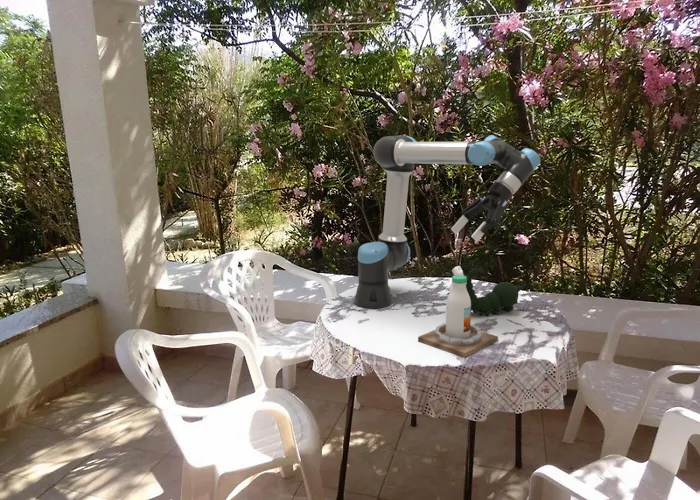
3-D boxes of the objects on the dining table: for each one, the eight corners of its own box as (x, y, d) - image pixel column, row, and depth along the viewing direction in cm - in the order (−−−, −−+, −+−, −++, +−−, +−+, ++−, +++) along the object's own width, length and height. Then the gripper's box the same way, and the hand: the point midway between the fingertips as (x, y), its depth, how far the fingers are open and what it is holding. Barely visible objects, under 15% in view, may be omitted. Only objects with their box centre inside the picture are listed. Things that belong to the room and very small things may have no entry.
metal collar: (426, 336, 168) (426, 330, 168) (453, 325, 178) (453, 319, 178) (463, 349, 158) (463, 343, 158) (489, 336, 168) (490, 330, 167)
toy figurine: (470, 324, 187) (531, 311, 193) (467, 274, 182) (530, 261, 188) (458, 316, 196) (516, 303, 202) (455, 267, 191) (515, 256, 197)
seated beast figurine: (465, 299, 210) (466, 270, 208) (444, 296, 214) (445, 267, 212) (472, 292, 218) (473, 264, 216) (452, 290, 222) (453, 262, 220)
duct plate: (418, 341, 169) (418, 336, 169) (451, 326, 181) (451, 322, 180) (464, 357, 156) (464, 352, 156) (497, 340, 168) (497, 336, 168)
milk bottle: (455, 343, 163) (457, 281, 159) (440, 334, 170) (441, 275, 165) (475, 338, 166) (477, 277, 162) (459, 330, 173) (461, 272, 169)
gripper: (533, 199, 167) (490, 249, 165) (490, 192, 190) (452, 235, 189) (520, 184, 164) (476, 234, 163) (477, 178, 187) (439, 222, 186)
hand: (463, 235), depth 176 cm, fingers open, 13 cm apart
